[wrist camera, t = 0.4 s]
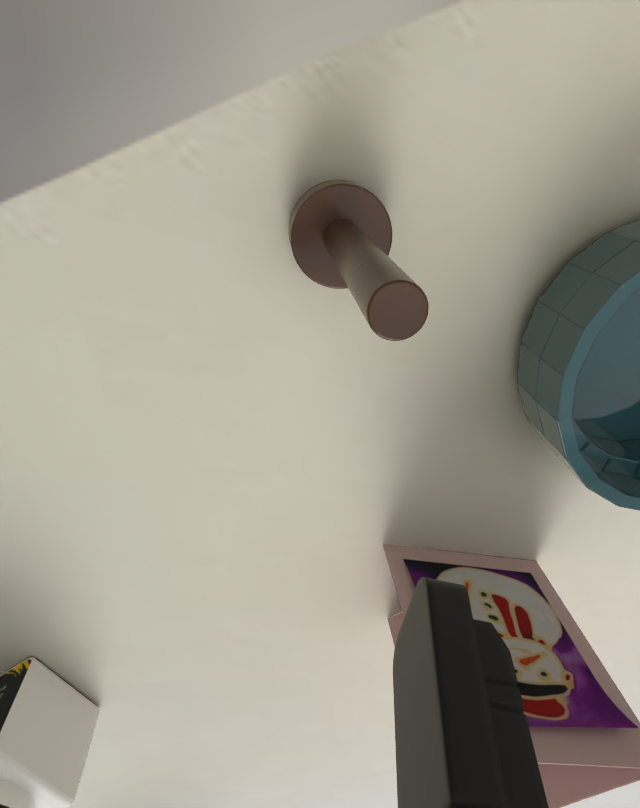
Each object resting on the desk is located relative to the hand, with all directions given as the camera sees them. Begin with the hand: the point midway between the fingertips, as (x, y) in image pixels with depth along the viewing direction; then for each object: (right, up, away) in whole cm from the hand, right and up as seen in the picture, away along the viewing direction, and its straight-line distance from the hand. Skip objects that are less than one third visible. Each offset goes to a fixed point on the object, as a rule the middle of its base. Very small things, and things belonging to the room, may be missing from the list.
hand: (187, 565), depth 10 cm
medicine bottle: (-19, -19, +33) cm, 42 cm away
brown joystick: (+3, +12, +20) cm, 24 cm away
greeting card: (+12, -10, +32) cm, 35 cm away
